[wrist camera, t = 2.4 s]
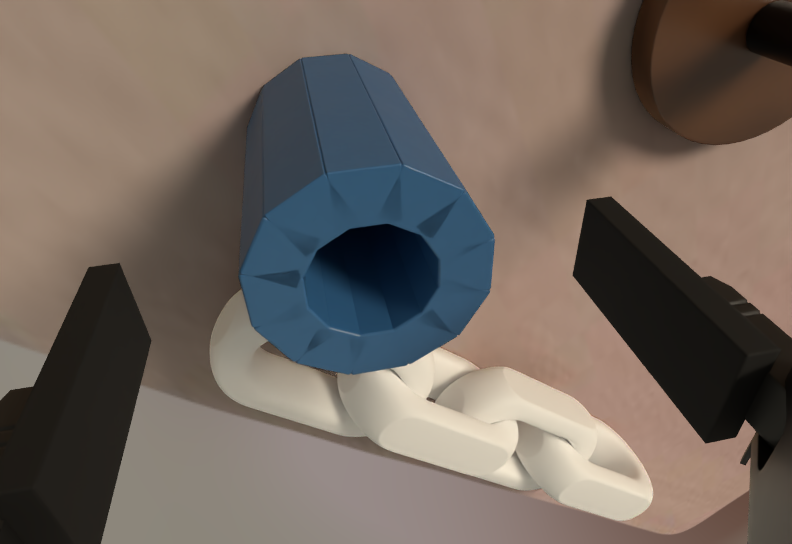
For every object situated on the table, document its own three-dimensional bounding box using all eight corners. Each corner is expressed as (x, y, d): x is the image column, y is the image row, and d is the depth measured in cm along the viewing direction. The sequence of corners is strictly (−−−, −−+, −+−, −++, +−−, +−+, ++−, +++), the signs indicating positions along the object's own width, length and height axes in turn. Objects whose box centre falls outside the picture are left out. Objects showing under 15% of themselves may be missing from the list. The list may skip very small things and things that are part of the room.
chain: (638, 412, 39) (692, 490, 34) (575, 463, 41) (618, 542, 36) (261, 228, 24) (260, 317, 19) (197, 322, 27) (182, 423, 22)
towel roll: (212, 123, 21) (182, 272, 13) (354, 17, 20) (415, 109, 12) (317, 238, 25) (343, 405, 17) (442, 155, 24) (531, 294, 16)
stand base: (600, -18, 21) (621, -11, 20) (855, -194, 19) (894, -199, 18) (661, 171, 27) (680, 185, 26) (860, 50, 25) (890, 59, 24)
